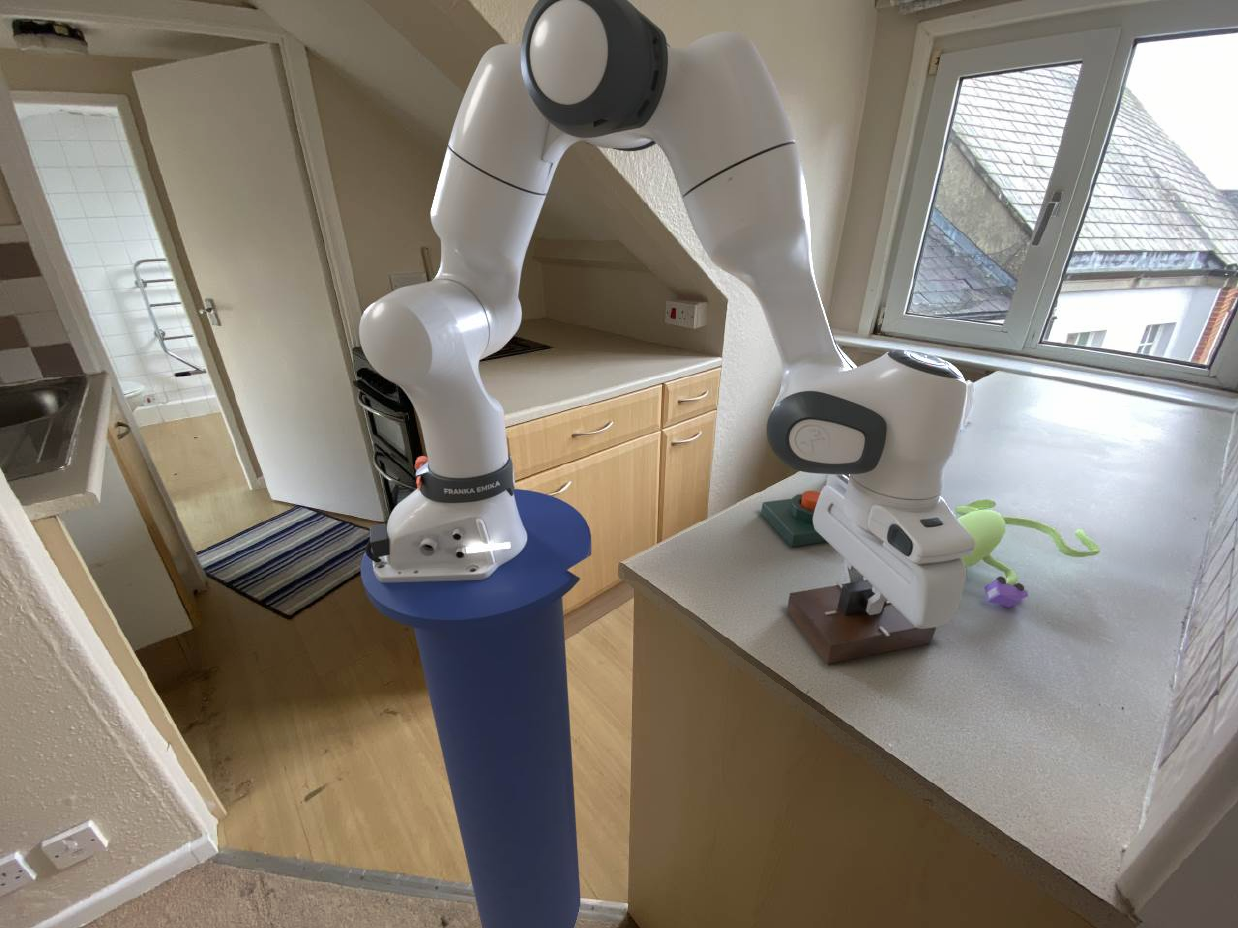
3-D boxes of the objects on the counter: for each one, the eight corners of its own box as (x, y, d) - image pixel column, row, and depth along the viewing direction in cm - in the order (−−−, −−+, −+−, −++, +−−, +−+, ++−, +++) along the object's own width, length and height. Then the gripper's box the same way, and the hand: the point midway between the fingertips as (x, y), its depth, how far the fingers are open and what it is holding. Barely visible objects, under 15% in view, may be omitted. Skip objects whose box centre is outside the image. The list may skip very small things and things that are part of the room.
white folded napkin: (962, 436, 118) (977, 389, 113) (941, 432, 120) (955, 385, 116) (969, 420, 127) (983, 375, 122) (949, 416, 129) (962, 372, 124)
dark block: (845, 615, 63) (851, 590, 61) (837, 606, 64) (842, 582, 62) (885, 608, 64) (892, 583, 62) (876, 599, 65) (883, 575, 64)
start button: (808, 512, 82) (810, 503, 82) (796, 501, 85) (798, 491, 85) (829, 509, 83) (831, 500, 82) (816, 498, 86) (818, 489, 85)
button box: (791, 547, 80) (795, 524, 78) (760, 513, 89) (763, 492, 87) (860, 536, 83) (866, 514, 81) (824, 504, 92) (828, 484, 90)
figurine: (1104, 569, 75) (1120, 536, 73) (991, 630, 65) (1006, 594, 62) (975, 509, 90) (985, 480, 88) (866, 550, 79) (874, 519, 77)
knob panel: (828, 667, 60) (833, 646, 58) (784, 609, 68) (788, 590, 67) (933, 645, 63) (940, 624, 61) (879, 592, 71) (884, 573, 70)
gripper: (810, 464, 66) (793, 555, 72) (934, 561, 48) (898, 671, 54) (854, 459, 67) (834, 549, 73) (991, 552, 49) (949, 660, 55)
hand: (862, 602), depth 63 cm, fingers closed on dark block, 2 cm apart
